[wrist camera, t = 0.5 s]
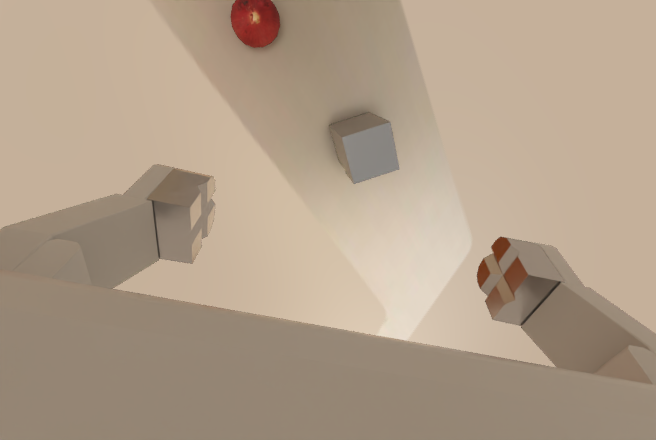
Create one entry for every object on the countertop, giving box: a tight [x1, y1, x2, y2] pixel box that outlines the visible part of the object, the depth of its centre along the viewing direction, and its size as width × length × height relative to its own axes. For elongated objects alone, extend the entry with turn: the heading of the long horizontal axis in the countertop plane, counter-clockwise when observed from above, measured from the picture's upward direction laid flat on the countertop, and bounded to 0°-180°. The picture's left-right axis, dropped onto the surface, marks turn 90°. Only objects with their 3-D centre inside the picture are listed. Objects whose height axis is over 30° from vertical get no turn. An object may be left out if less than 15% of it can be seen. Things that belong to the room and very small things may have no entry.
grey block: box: [329, 112, 399, 184], centre depth 49 cm, size 6×6×10 cm
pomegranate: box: [231, 0, 280, 48], centre depth 41 cm, size 6×6×8 cm
